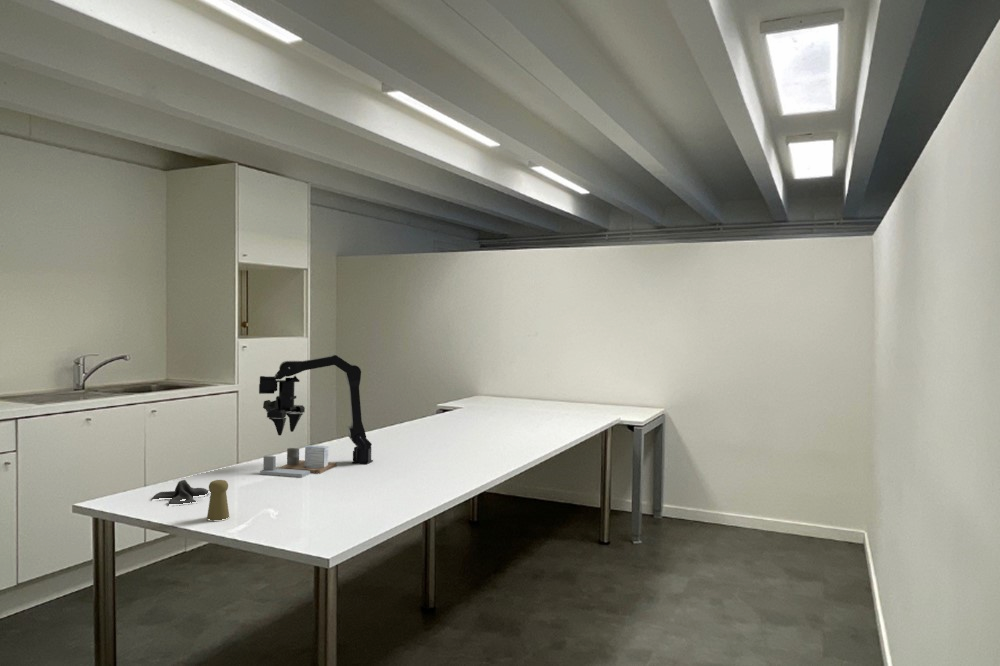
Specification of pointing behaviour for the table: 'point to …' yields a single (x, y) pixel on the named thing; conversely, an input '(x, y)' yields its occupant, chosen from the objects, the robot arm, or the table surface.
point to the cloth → (181, 493)
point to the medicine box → (316, 456)
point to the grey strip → (272, 470)
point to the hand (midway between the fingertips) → (285, 433)
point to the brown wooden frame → (302, 462)
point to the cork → (218, 500)
